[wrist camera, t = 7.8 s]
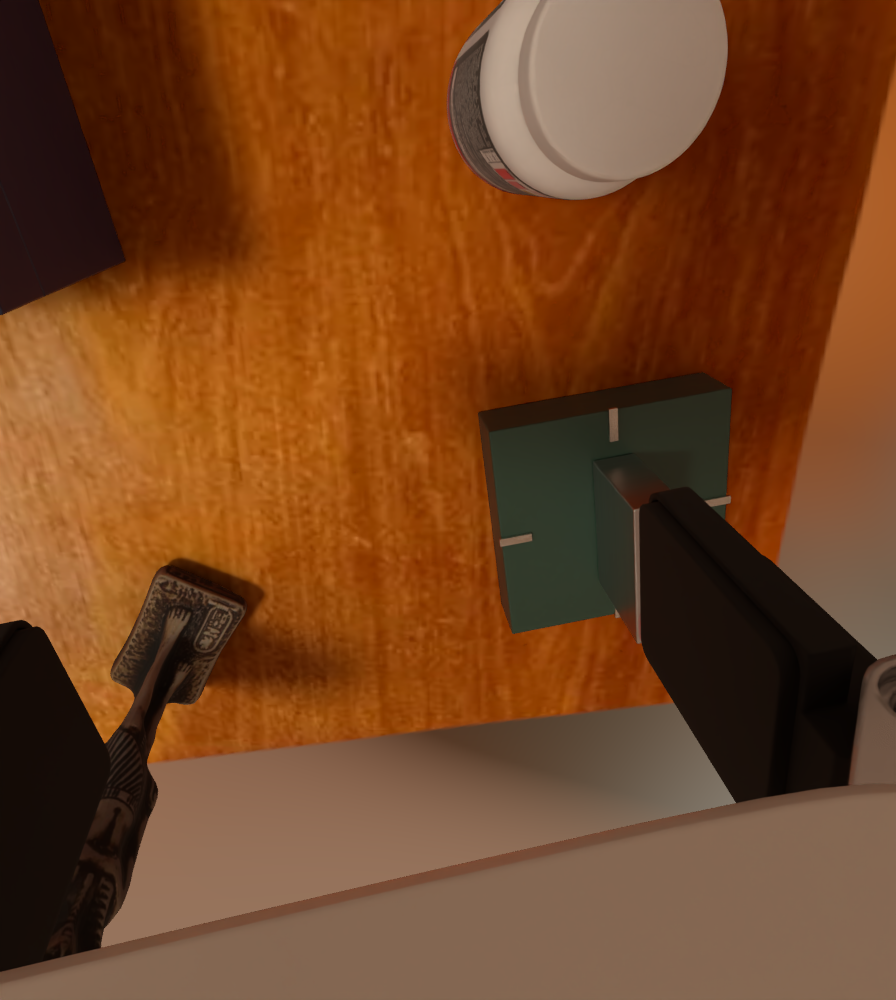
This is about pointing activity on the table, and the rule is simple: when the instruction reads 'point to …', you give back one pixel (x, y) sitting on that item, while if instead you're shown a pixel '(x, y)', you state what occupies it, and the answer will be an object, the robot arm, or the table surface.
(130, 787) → the statue
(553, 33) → the pill bottle
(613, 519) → the tap handle
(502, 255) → the table surface
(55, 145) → the button box
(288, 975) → the robot arm
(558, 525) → the panel
